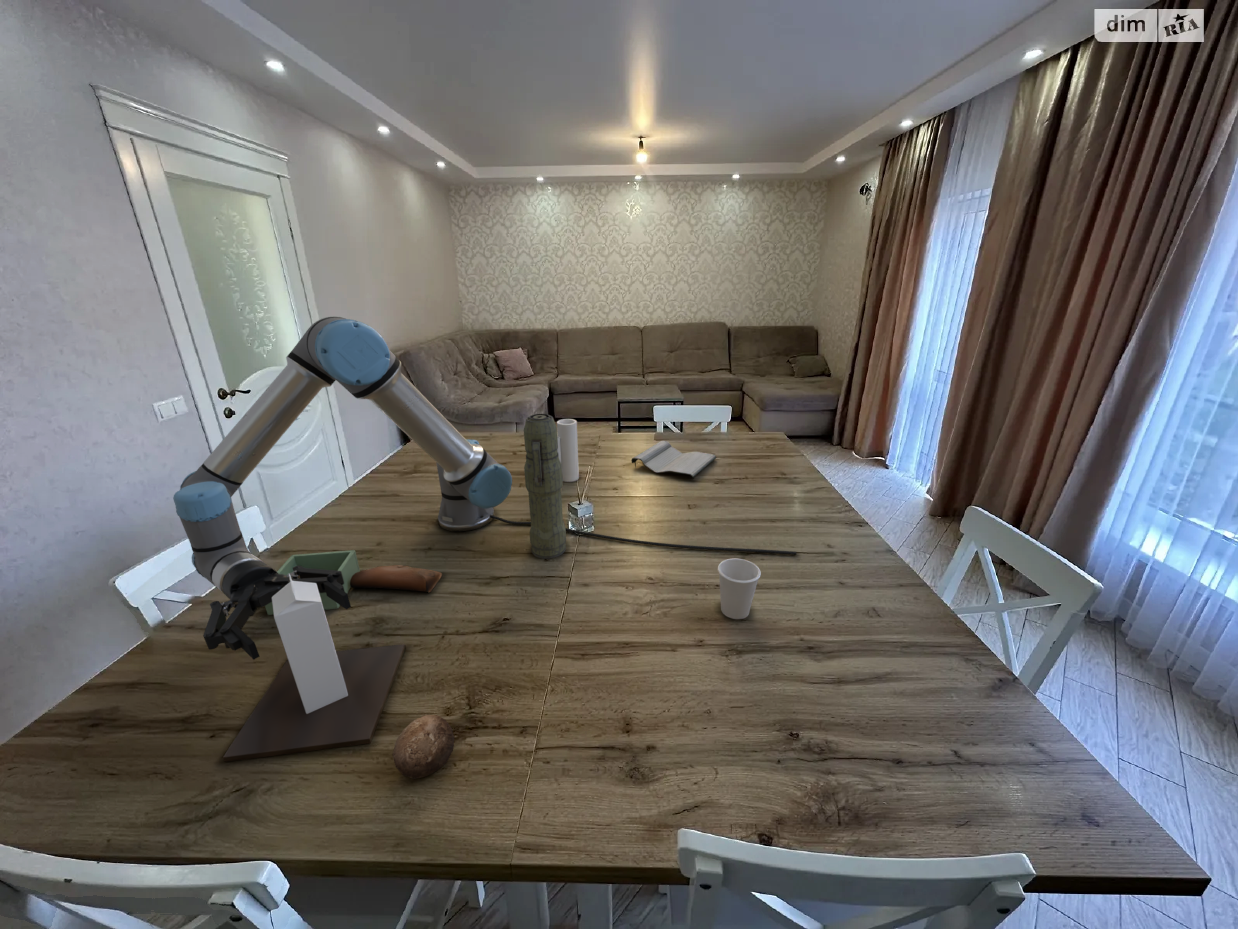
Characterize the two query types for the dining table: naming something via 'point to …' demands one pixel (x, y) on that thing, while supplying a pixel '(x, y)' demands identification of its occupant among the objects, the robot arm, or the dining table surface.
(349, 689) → the board
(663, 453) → the mat
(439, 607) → the dining table surface
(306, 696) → the milk
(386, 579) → the sunglasses case
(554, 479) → the thermos
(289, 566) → the basket
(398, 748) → the brown potato
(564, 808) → the dining table surface
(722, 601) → the dixie cup
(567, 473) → the vase
